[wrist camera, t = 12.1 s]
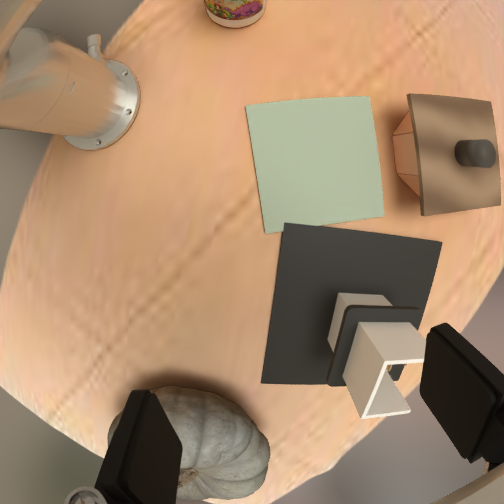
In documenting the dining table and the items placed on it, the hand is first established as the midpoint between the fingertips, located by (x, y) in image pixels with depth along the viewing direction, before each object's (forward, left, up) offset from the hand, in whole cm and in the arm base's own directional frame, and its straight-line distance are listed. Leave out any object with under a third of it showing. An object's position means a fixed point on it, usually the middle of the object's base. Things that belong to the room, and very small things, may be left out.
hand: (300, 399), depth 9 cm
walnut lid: (-7, +26, -24) cm, 36 cm away
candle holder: (+15, +12, -31) cm, 36 cm away
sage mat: (-7, +9, -31) cm, 33 cm away
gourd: (+31, -15, -31) cm, 46 cm away
